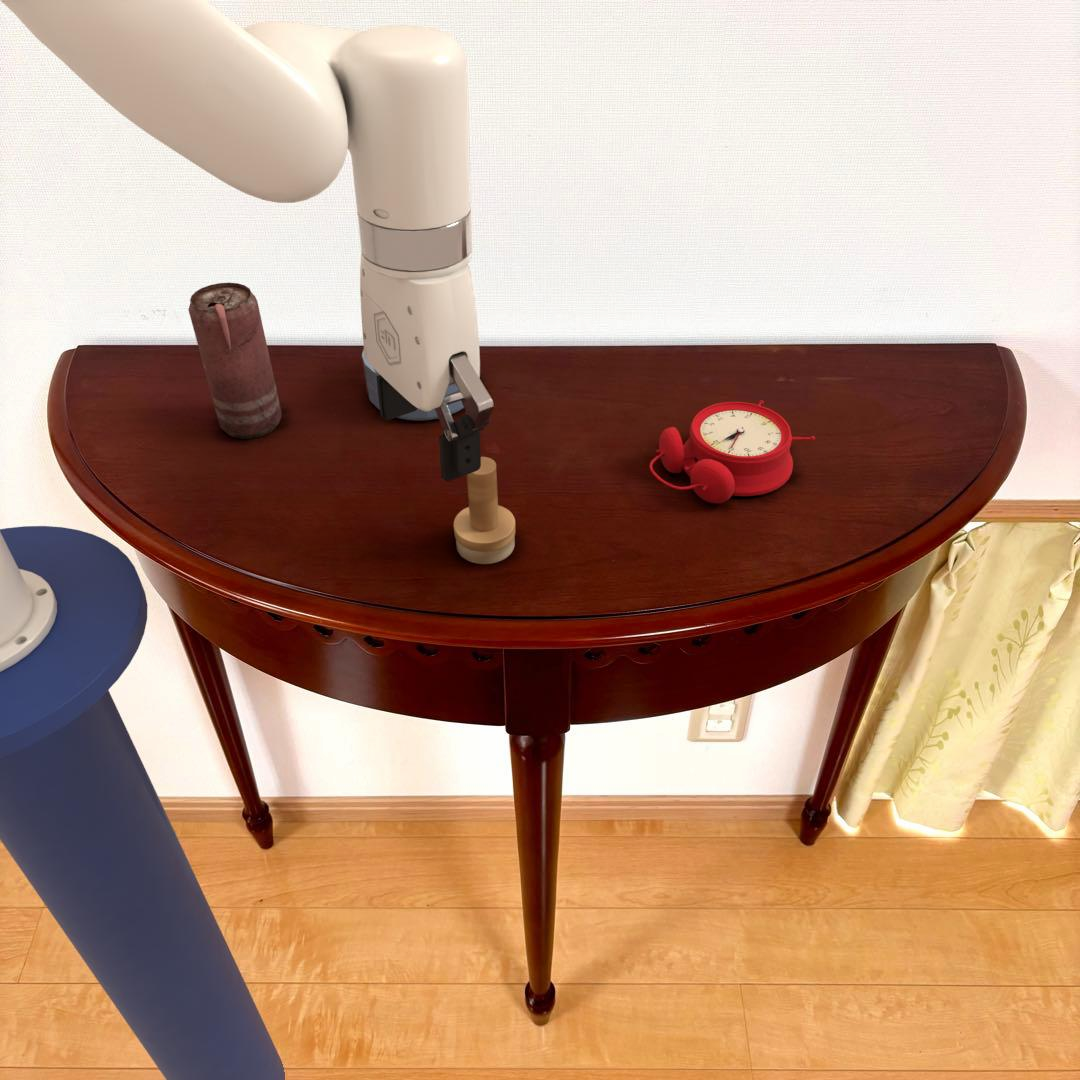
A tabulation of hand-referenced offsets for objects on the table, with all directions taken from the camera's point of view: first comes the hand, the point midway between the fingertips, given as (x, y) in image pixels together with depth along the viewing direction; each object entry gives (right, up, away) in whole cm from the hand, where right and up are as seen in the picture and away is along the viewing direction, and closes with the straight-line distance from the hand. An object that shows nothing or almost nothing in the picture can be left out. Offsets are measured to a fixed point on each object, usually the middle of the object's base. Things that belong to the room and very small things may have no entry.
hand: (429, 443), depth 76 cm
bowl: (-3, +8, +25) cm, 26 cm away
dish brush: (+4, -8, +6) cm, 11 cm away
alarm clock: (+26, -1, +14) cm, 30 cm away
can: (-20, +4, +20) cm, 29 cm away
